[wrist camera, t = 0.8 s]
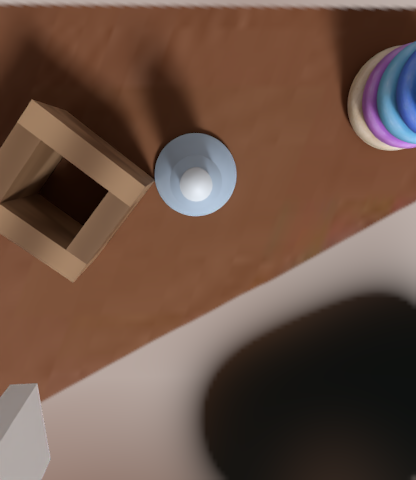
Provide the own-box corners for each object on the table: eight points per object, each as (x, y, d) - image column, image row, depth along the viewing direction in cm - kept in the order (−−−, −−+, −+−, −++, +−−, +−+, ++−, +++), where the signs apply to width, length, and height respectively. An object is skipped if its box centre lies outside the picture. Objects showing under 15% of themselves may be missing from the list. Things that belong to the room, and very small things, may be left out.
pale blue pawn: (138, 182, 29) (115, 194, 20) (188, 115, 28) (185, 98, 19) (202, 230, 30) (205, 262, 22) (252, 169, 29) (276, 175, 21)
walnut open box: (8, 196, 29) (-38, 207, 23) (66, 110, 28) (31, 99, 22) (96, 258, 31) (73, 282, 25) (155, 180, 29) (145, 186, 23)
